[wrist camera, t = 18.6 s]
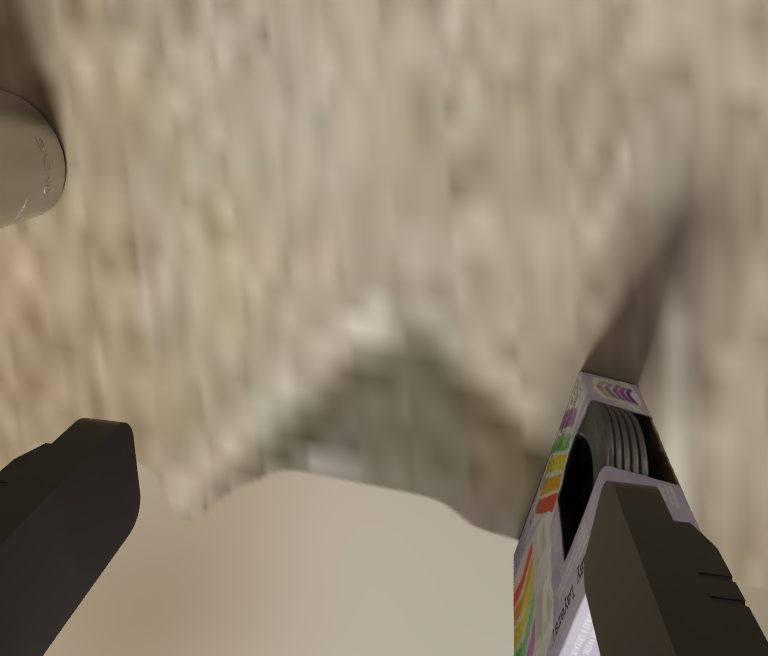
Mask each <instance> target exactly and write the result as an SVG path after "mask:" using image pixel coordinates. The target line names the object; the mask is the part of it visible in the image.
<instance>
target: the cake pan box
mask: <svg viewBox="0 0 768 656" xmlns="http://www.w3.org/2000/svg"><path fill="white" fill-rule="evenodd" d="M606 481H616V482H624V483H633V484H641V485H650V486H655V487H657V488H658V489H659V491H660V493H661V495H662V497H663V499H664V501H665V503H666V505H667V507H668V510H669V512H670V514H671V516H672V518H673V520H674V521H680V522H689V523H691V524H692V525H693V526H694V527H696V528H697V529H698V530H699V531H700V529H699V527H698V524H697V522H696V520H695V518H694V516H693V513H692V511H691V509H690V507H689V505H688V502H687V500H686V498H685V496H684V493H683V491H682V488H681V486H680V484H679V482H678V479H677V477H676V475H675V473H674V470H673V468H672V466H671V464H670V462H669V459H668V457H667V455H666V452H665V450H664V447H663V445H662V442H661V440H660V437H659V434H658V432H657V430H656V428H655V425H654V423H653V421H652V417H651V415H650V414H649V411H648V409H647V407H646V405H645V403H644V401H643V399H642V397H641V394H640V392H639V390H638V387H637V386H636V385H633V384H629V383H625V382H622V381H618V380H614V379H610V378H605V377H601V376H597V375H593V374H589V373H585V372H580V373H579V376H578V379H577V381H576V384H575V387H574V390H573V393H572V396H571V398H570V401H569V404H568V407H567V410H566V413H565V416H564V418H563V421H562V424H561V427H560V430H559V433H558V435H557V438H556V441H555V444H554V447H553V449H552V452H551V455H550V458H549V460H548V463H547V466H546V469H545V472H544V474H543V477H542V480H541V483H540V486H539V488H538V491H537V494H536V496H535V499H534V502H533V504H532V507H531V510H530V512H529V515H528V518H527V521H526V523H525V526H524V529H523V532H522V534H521V537H520V540H519V543H518V546H517V548H516V551H515V553H514V656H600V652H599V648H598V644H597V640H596V635H595V631H594V627H593V623H592V619H591V615H590V610H589V606H588V602H587V598H586V593H585V586H584V562H585V555H586V550H587V546H588V542H589V538H590V534H591V530H592V526H593V521H594V517H595V513H596V509H597V505H598V501H599V497H600V493H601V489H602V487H603V485H604V483H605V482H606ZM700 532H701V531H700Z"/></svg>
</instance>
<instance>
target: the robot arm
mask: <svg viewBox="0 0 768 656" xmlns="http://www.w3.org/2000/svg"><path fill="white" fill-rule="evenodd" d="M64 181H65V162H64V156H63V151H62V149H61V146H60V143H59V141H58V138H57V136H56V134H55V133H54V131H53V129H52V128H51V126H50V124H49V123H48V122H47V121H46V119H45V118H44V117H43V116H42V114H41V113H40V112H39V111H38V110H36V109H35V108H34V107H33V106H32V105H31V104H30V103H28V102H27V101H25V100H23V99H22V98H20V97H18V96H17V95H14V94H11V93H9V92H6V91H2V90H0V228H3V227H6V226H9V225H12V224H15V223H18V222H21V221H24V220H27V219H30V218H33V217H36V216H39V215H42V214H43V213H45V212H46V211H48V210H49V209H51V208H52V207H53V205H54V204H55V203H56V202H57V201H58V199H59V197H60V195H61V192H62V190H63V186H64ZM139 507H140V489H139V480H138V472H137V463H136V454H135V446H134V437H133V432H132V429H131V427H130V426H129V424H127V423H124V422H115V421H107V420H98V419H90V418H81V419H79V420H77V421H76V422H75V423H74V424H73V425H72V426H70V427H69V428H68V429H67V430H66V431H65V432H64V433H63V434H62V435H61V436H59V437H58V438H57V439H56V440H55V441H54V442H53V443H52V444H49V443H45V444H43V445H41V446H39V447H37V448H35V449H33V450H31V451H29V452H27V453H25V454H23V455H21V456H19V457H17V458H16V459H14V460H13V461H11V462H10V463H9V464H8V465H7V466H6V467H5V468H3V469H2V470H1V471H0V656H43V655H44V653H45V652H46V650H47V649H48V648H49V646H50V645H51V643H52V642H53V641H54V639H55V638H56V636H57V635H58V633H59V632H60V631H61V629H62V628H63V626H64V625H65V624H66V622H67V621H68V619H69V618H70V617H71V615H72V614H73V613H74V611H75V610H76V608H77V607H78V605H79V604H80V603H81V601H82V600H83V598H84V597H85V595H86V594H87V593H88V591H89V590H90V589H91V587H92V586H93V584H94V583H95V582H96V580H97V579H98V577H99V576H100V575H101V573H102V572H103V570H104V569H105V568H106V566H107V565H108V563H109V562H110V561H111V559H112V558H113V556H114V555H115V554H116V552H117V551H118V549H119V548H120V547H121V545H122V544H123V542H124V541H125V540H126V538H127V537H128V535H129V534H130V532H131V530H132V529H133V527H134V525H135V522H136V519H137V516H138V512H139ZM584 586H585V593H586V598H587V602H588V606H589V610H590V615H591V619H592V623H593V627H594V631H595V635H596V640H597V644H598V648H599V652H600V656H768V642H767V640H766V638H765V636H764V635H763V632H762V630H761V629H760V627H759V625H758V623H757V621H756V619H755V618H754V616H753V614H752V612H751V610H750V608H749V607H747V606H745V599H744V597H743V595H742V593H741V591H740V590H739V588H738V586H737V584H736V582H733V581H732V575H731V573H730V571H729V569H728V567H727V565H726V564H725V562H724V560H723V558H722V556H721V554H720V553H719V551H718V549H717V548H716V547H715V546H714V545H713V544H712V543H711V542H710V541H709V540H708V539H707V538H706V537H705V536H704V535H703V534H702V533H701V532H700V531H699V530H698V529H697V528H696V527H694V526H693V525H692V524H691V523H689V522H680V521H674V520H673V518H672V516H671V514H670V512H669V510H668V507H667V505H666V503H665V501H664V499H663V497H662V495H661V493H660V491H659V489H658V488H657V487H655V486H650V485H641V484H633V483H624V482H616V481H606V482H605V483H604V485H603V487H602V489H601V493H600V497H599V501H598V505H597V509H596V513H595V517H594V521H593V526H592V530H591V534H590V538H589V542H588V546H587V550H586V555H585V562H584Z"/></svg>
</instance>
